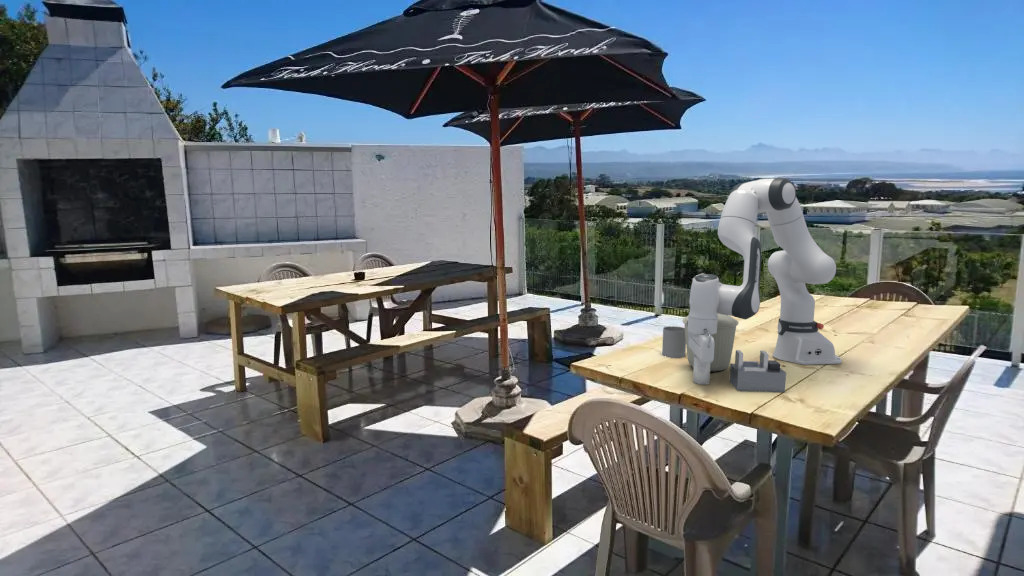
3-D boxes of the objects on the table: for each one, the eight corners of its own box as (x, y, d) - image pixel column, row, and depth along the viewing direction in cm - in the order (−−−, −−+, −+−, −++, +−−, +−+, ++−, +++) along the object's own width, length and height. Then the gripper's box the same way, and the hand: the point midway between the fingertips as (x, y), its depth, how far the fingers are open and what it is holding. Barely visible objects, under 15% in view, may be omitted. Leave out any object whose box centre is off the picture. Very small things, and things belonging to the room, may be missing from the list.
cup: (686, 358, 219) (687, 331, 218) (662, 357, 221) (663, 330, 219) (684, 352, 227) (685, 326, 226) (661, 351, 229) (662, 325, 228)
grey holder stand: (774, 382, 191) (777, 349, 189) (784, 392, 182) (787, 356, 180) (729, 381, 192) (731, 348, 190) (737, 390, 183) (739, 355, 182)
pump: (707, 380, 194) (708, 352, 193) (711, 384, 189) (712, 356, 188) (691, 379, 194) (692, 352, 193) (694, 384, 189) (696, 356, 188)
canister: (746, 367, 207) (749, 306, 203) (718, 379, 195) (721, 315, 191) (699, 356, 220) (701, 299, 216) (670, 367, 208) (672, 307, 205)
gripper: (721, 333, 179) (717, 378, 181) (705, 320, 199) (702, 361, 201) (699, 332, 179) (696, 377, 181) (685, 319, 199) (682, 360, 201)
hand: (699, 369), depth 191 cm, fingers closed on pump, 5 cm apart
